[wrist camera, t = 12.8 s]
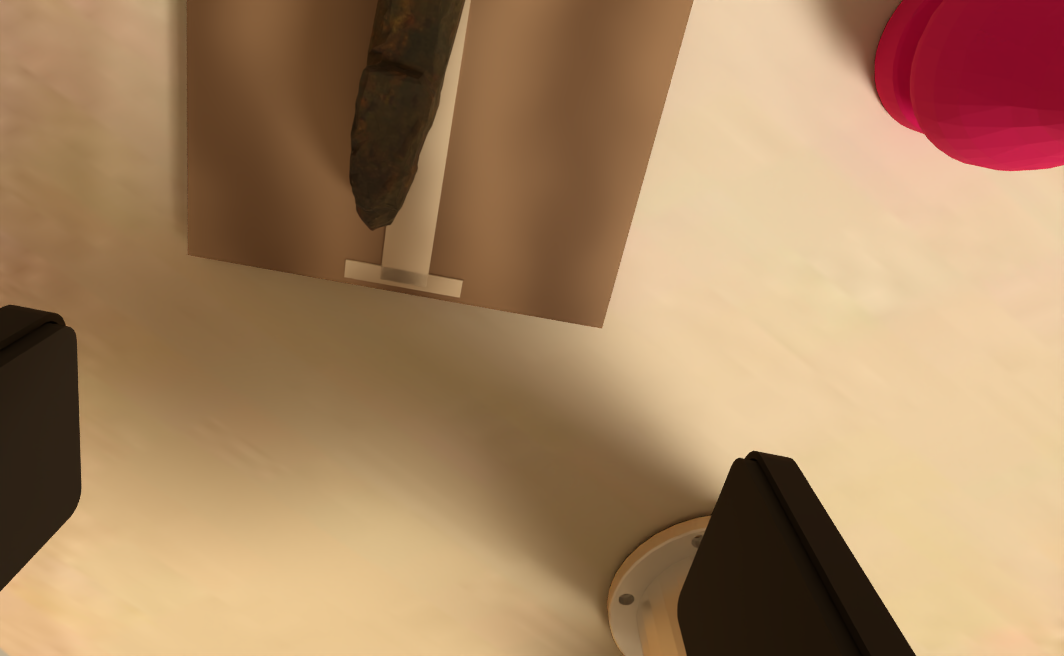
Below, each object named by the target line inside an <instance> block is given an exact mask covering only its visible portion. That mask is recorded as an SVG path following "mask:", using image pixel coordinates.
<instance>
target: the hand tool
mask: <svg viewBox="0 0 1064 656" xmlns="http://www.w3.org/2000/svg"><path fill="white" fill-rule="evenodd" d="M464 3H465V0H378V3H377V8H376V13H375V18H374V23H373V28H372V34H371V38H370V43H369V48H368V56H367V66H366V67H365V68H364V70H363V71H362V75H361V78H360V82H359V90H358V95H357V98H356V103H355V115H354V120H353V124H352V129H351V155H350V170H349V180H350V185H351V187H352V193H353V195H354V197H355V204H356V211H357V213H358V215H359V217H360V218H361V220H362V221H363V222H364V223H365V225H366V226H367V227H368V228H369V229H370V230H372V231H374V230H375V229H377V228H380V227H384V226H388V225H391V224H392V222H393V221H394V219H395V217H396V215H397V213H398V212H399V210H400V209H401V208H402V206H403V204H404V201H405V199H406V196H407V194H408V192H409V189H410V187H411V185H412V183H413V181H414V178H415V175H416V173H417V170H418V161H419V155H420V153H421V150H422V148H423V145H424V142H425V140H426V137H427V135H428V132H429V130H430V129H431V128H432V125H433V122H434V119H435V116H436V113H437V110H438V107H439V103H440V97H441V90H442V87H443V83H444V77H445V72H446V69H447V66H448V62H449V59H450V55H451V52H452V48H453V45H454V41H455V37H456V34H457V30H458V26H459V23H460V19H461V15H462V11H463V7H464Z"/></svg>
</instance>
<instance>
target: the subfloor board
mask: <svg viewBox="0 0 1064 656" xmlns="http://www.w3.org/2000/svg"><path fill="white" fill-rule="evenodd" d="M377 3H378V0H187V158H188V255H191V256H197V257H202V258H208V259H214V260H219V261H225V262H231V263H236V264H242V265H248V266H253V267H259V268H264V269H270V270H276V271H281V272H287V273H293V274H298V275H304V276H310V277H315V278H321V279H326V280H332V281H338V282H343V283H349V284H355V285H360V286H366V287H372V288H377V289H383V290H388V291H394V292H400V293H405V294H411V295H417V296H422V297H428V298H434V299H439V300H445V301H451V302H456V303H462V304H467V305H473V306H479V307H484V308H490V309H496V310H501V311H507V312H513V313H518V314H524V315H529V316H535V317H541V318H546V319H552V320H558V321H563V322H569V323H575V324H580V325H586V326H591V327H597V328H602V326H603V323H604V319H605V315H606V312H607V308H608V305H609V301H610V298H611V294H612V290H613V287H614V283H615V280H616V276H617V272H618V269H619V265H620V262H621V258H622V255H623V251H624V247H625V244H626V240H627V237H628V233H629V229H630V226H631V222H632V219H633V215H634V212H635V208H636V204H637V201H638V197H639V194H640V190H641V186H642V183H643V179H644V176H645V172H646V169H647V165H648V161H649V158H650V154H651V151H652V147H653V144H654V140H655V136H656V133H657V129H658V126H659V122H660V118H661V115H662V111H663V108H664V104H665V101H666V97H667V93H668V90H669V86H670V83H671V79H672V75H673V72H674V68H675V65H676V61H677V58H678V54H679V50H680V47H681V43H682V40H683V36H684V33H685V29H686V25H687V22H688V18H689V15H690V11H691V7H692V4H693V0H465V3H464V7H463V11H462V15H461V19H460V23H459V26H458V30H457V34H456V37H455V41H454V45H453V48H452V52H451V55H450V59H449V62H448V66H447V69H446V72H445V77H444V83H443V87H442V90H441V97H440V103H439V107H438V110H437V113H436V116H435V119H434V122H433V125H432V128H431V129H430V130H429V132H428V135H427V137H426V140H425V142H424V145H423V148H422V150H421V153H420V155H419V161H418V170H417V173H416V175H415V178H414V181H413V183H412V185H411V187H410V189H409V192H408V194H407V196H406V199H405V201H404V204H403V206H402V208H401V209H400V210H399V212H398V213H397V215H396V217H395V219H394V221H393V222H392V224H391V225H388V226H384V227H380V228H377V229H375V230H374V231H372V230H370V229H369V228H368V227H367V226H366V225H365V223H364V222H363V221H362V220H361V218H360V217H359V215H358V213H357V211H356V204H355V197H354V195H353V193H352V187H351V185H350V180H349V170H350V155H351V129H352V124H353V120H354V115H355V103H356V98H357V95H358V90H359V82H360V78H361V75H362V71H363V70H364V68H365V67H366V66H367V56H368V48H369V43H370V38H371V34H372V28H373V23H374V18H375V13H376V8H377Z"/></svg>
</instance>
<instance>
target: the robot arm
mask: <svg viewBox="0 0 1064 656" xmlns="http://www.w3.org/2000/svg"><path fill="white" fill-rule="evenodd" d="M80 495H81V461H80V429H79V397H78V365H77V339H76V334H75V332H74V330H73V329H72V328H71V327H67V326H66V325H65V322H64V320H63V318H62V317H61V316H60V315H59V314H56V313H51V312H46V311H41V310H36V309H31V308H26V307H21V306H15V305H7V306H4V307H2V308H0V591H1V590H2V589H3V588H4V587H5V586H6V585H7V584H8V583H9V582H10V581H11V580H12V578H13V577H14V576H15V575H16V574H17V573H18V572H19V571H20V570H21V569H22V568H23V567H24V566H25V565H26V564H27V563H28V561H29V560H30V559H31V558H32V557H33V556H34V555H35V554H36V553H37V552H38V551H39V550H40V549H41V548H42V547H43V546H44V544H45V543H46V542H47V541H48V540H49V539H50V538H51V537H52V536H53V535H54V534H55V533H56V532H57V531H58V530H59V528H60V527H61V526H62V525H63V524H64V523H65V522H66V521H67V520H68V519H69V518H70V517H71V515H72V514H73V513H74V511H75V509H76V507H77V505H78V502H79V499H80ZM607 609H608V618H609V625H610V629H611V633H612V637H613V639H614V641H615V643H616V644H617V646H618V648H619V650H620V651H621V652H622V653H623V655H624V656H916V655H915V653H914V652H913V650H912V649H911V647H910V645H909V644H908V642H907V640H906V639H905V637H904V636H903V634H902V632H901V631H900V629H899V628H898V626H897V624H896V623H895V621H894V620H893V618H892V616H891V615H890V613H889V612H888V610H887V608H886V607H885V605H884V604H883V602H882V600H881V599H880V597H879V595H878V594H877V592H876V591H875V589H874V587H873V586H872V584H871V583H870V581H869V579H868V578H867V576H866V575H865V573H864V571H863V570H862V568H861V567H860V565H859V563H858V562H857V560H856V559H855V557H854V555H853V554H852V552H851V550H850V549H849V547H848V546H847V544H846V542H845V541H844V539H843V538H842V536H841V534H840V533H839V531H838V530H837V528H836V526H835V525H834V523H833V522H832V520H831V518H830V517H829V515H828V514H827V512H826V510H825V509H824V507H823V505H822V504H821V502H820V501H819V499H818V497H817V496H816V494H815V493H814V491H813V489H812V488H811V486H810V485H809V483H808V481H807V480H806V478H805V477H804V475H803V473H802V472H801V470H800V469H799V467H798V465H797V464H796V462H795V461H794V460H793V459H792V458H788V457H783V456H778V455H773V454H768V453H763V452H758V451H752V452H750V453H749V454H748V455H747V456H746V458H745V459H743V458H738V459H736V460H735V461H734V462H733V464H732V466H731V468H730V471H729V473H728V476H727V478H726V481H725V483H724V486H723V488H722V491H721V493H720V496H719V498H718V500H717V503H716V505H715V508H714V510H713V513H712V515H711V516H705V517H699V518H695V519H692V520H689V521H686V522H682V523H679V524H676V525H674V526H672V527H670V528H668V529H666V530H664V531H661V532H659V533H657V534H656V535H654V536H653V537H651V538H650V539H648V540H647V541H646V542H644V543H643V544H641V545H640V546H639V547H638V548H637V549H636V550H635V551H634V552H633V553H632V554H631V555H629V556H628V557H627V558H626V560H625V561H624V562H623V564H622V565H621V567H620V568H619V570H618V571H617V573H616V574H615V576H614V579H613V581H612V584H611V586H610V589H609V594H608V601H607Z"/></svg>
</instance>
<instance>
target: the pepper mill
mask: <svg viewBox="0 0 1064 656" xmlns="http://www.w3.org/2000/svg"><path fill="white" fill-rule="evenodd" d="M875 84H876V89H877V92H878V95H879V97H880V100H881V102H882V104H883V106H884V108H885V109H886V111H887V112H888V113H889V114H890V115H891V117H892V118H894V119H895V120H896V121H897V122H898V123H900V124H901V125H903V126H905V127H907V128H909V129H912V130H914V131H917V132H920V133H923V134H925V135H926V137H927V138H928V139H929V140H930V141H931V142H932V143H933V144H934V145H935V146H936V147H937V148H938V149H940V150H941V151H942V152H944V153H945V154H947V155H948V156H950V157H951V158H953V159H956V160H958V161H961V162H963V163H966V164H971V165H975V166H980V167H985V168H990V169H994V170H1003V171H1022V170H1037V169H1048V168H1053V167H1057V166H1061V165H1064V0H903V1H902V2H901V4H900V5H899V6H898V7H897V8H896V10H895V12H894V13H893V15H892V16H891V18H890V19H889V21H888V22H887V24H886V27H885V29H884V31H883V34H882V36H881V38H880V41H879V44H878V48H877V51H876V57H875Z"/></svg>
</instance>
